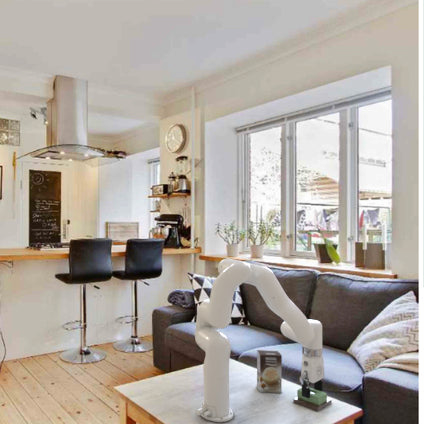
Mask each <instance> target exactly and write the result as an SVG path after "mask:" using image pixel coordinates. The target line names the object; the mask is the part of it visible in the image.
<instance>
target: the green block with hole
mask: <svg viewBox="0 0 424 424" xmlns="http://www.w3.org/2000/svg"><path fill="white" fill-rule="evenodd" d="M309 388H310V392H314V393H315V394H312V393H310V398H306V397H303V396H302V387H301V388H299V389H297V392H296V394H297V395H296V397H298V398H300V399H303V400H306V401H309V402H311V403H314V404H317V405H320V404H322V403H324V402H326V401H327V398H328V393H327V392H325V391H319V390H316V389H314V387H310V386H309Z"/></svg>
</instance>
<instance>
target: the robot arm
mask: <svg viewBox="0 0 424 424" xmlns="http://www.w3.org/2000/svg"><path fill="white" fill-rule="evenodd" d="M217 272H218V275H217V277H216V278H215V279H214V281H213V283H212V286H211V289H210V295H209V298H207V299H203V301H202V302H201V303H200V304H199V306H198V308H197V312H196V319H195V320H196V321H195V328H194V339H195V340H194V341H195V343H196V345H197V346H198V347H199V348H200V349H201V350H202V351H203V352H205V355H204V356H205V357H204V361H203V366H202V367H203V369H202V370H203V403H202V404H201V407H200V408H198V409H196V410H195V415H196V416H201V417H202V418H203V419H204V420H207V421H210V422H215V423H225V422H229V421H231V420H232V419H233V418H234V410H233V409H231V407H230V358H231V352H232V345H231V341H230V339H229V338H228V337H227V336H226V335H225V334H224V333H223V332H222V331H220V330H222V329H223V330H224V329H226V328H228V326H230V323H231V320H232V309H233V302H234V296H235V292H236V290H237V289H238V288H239V287H240V286H241V285H242V284H247V285H251V286H254V287H255V288H256V289H257V291H258V292H259V294H260V296H261V297H262V299H263V301H264V302H265V304H266V306H267V307H268V309H270V310H271V311H272V312H273V314H275V315H277V316H278V317H280V319H282V320H283V322H282V323H281V324H280V332H281V334H282V335H283V336H284V337H286V338H288V339H289V340H291V341H293V342H296V343H298V344H299V345H301V356H302V357H301V367H300V369H301V370H300V371H301V375H300V376H299V378H298V379H299V383H300V387H301V388H302V396H303V397H306V398H310V388H311V387H310V385H311V384H313V389H316V390H319V391H322V392H324V390H323V388H324V386H323V385H324V384H323V381H324V378H325V363H324V356H323V324H322V322H321V321H319V320H317V319H308V318H307V317H306V315H305V313H303V312H302V311H301V309H300V308H299V307H298V306H297V305H296V304H295V303H294V302H293V301H292V300H291V298H289V296H288V294H286V292H285V290H284V288H283V286H282V285H281V283H280V282H279V280H278V278H277V276H276V275H275V273H274V272H273V270H271V269H270V268H269V267H267V266H265V265H264V266H263V265H259V264H254V263H250V262H245V261H242V260H239V259H235V258H229V257H227V258H224V259H222V260H221V261H219V263H218V265H217ZM309 387H310V388H309Z"/></svg>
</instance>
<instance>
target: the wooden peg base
mask: <svg viewBox="0 0 424 424" xmlns="http://www.w3.org/2000/svg"><path fill="white" fill-rule="evenodd" d="M310 393H312V394H315V393H314V392H310ZM293 403H294V404H297V405H299V406H302V407H304V408H307V409H309V410H312V411H315V412H320V411H321V410H323V409H325V408H326V407H328V406H330V405H331V404H332V399H331V398H328V397H327V401H326V402H324V403H322V404H320V405H317V404H314V403H311V402H309V401H306V400H303V399H300V398H298V397H297V396H296V397H294V398H293Z"/></svg>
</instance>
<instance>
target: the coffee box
mask: <svg viewBox="0 0 424 424" xmlns="http://www.w3.org/2000/svg"><path fill="white" fill-rule="evenodd" d="M256 351H257V353H256V355H257V357H256V387H257V389H258V391H259V392H260V393H272V394H273V393H274V394H275V393H276V394H282V389H283V388H282V380H283V379H282V376H283V374H282V373H283V370H282V369H283V368H282V367H283V362H282V360H283V359H282V354H281V352H279V351H278V350H261V349H257V350H256Z"/></svg>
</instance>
